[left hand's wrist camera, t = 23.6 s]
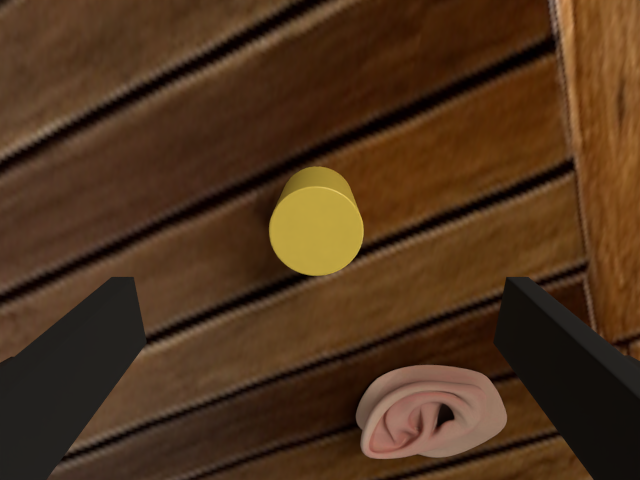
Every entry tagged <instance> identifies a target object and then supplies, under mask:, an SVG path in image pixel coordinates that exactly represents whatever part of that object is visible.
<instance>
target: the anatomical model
mask: <svg viewBox="0 0 640 480" xmlns="http://www.w3.org/2000/svg"><path fill="white" fill-rule="evenodd" d="M356 421H357V424H358V426H359V427H360V428H361V429H362V430H363V431H362V435H361V443H360V444H361V449H362V451H363V453H364V454H365V455H366V456H368V457H371V458H377V459H390V458H400V457H406V456H411V455H415V454H420V455H423V456H428V457H447V456H451V455H455V454H458V453H461V452H464V451H467V450H469V449H471V448H473V447H475V446H477V445H479V444H481V443H483V442H485V441H487V440H488V439H490V438H492V437H493V436H495V435H496V434H498V433H499V432H500V431H501V430H502V429H503V428H504V426H505V424H506V421H507V415H506V411H505V408H504V405H503V403H502V400H501V398H500V395H499V393H498V392H497V390H496V389H495V387H494V386H493V384H492V383H491V381H490V380H489V379H488V378H487V377H486V376H485V375H483V374H481V373H479V372H476V371H472V370H468V369H463V368H456V367H449V366H440V365H418V366H410V367H404V368H400V369H397V370H393V371H391V372H388V373H386V374H384V375H382V376H380V377H379V378H377V379H376V380H375V381H374V382H373V383H372V384H371V385H370V386H369V388H368V389H367V390H366V392H365V394H364V395H363V397H362V399H361V401H360V403H359V406H358V408H357V412H356Z"/></svg>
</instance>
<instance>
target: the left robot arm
mask: <svg viewBox="0 0 640 480" xmlns="http://www.w3.org/2000/svg"><path fill="white" fill-rule="evenodd" d="M146 343H147V342H146V337H145V332H144V327H143V322H142V317H141V312H140V307H139V302H138V297H137V292H136V287H135V282H134V277H111V278H110V279H109V280H108V281H106V282H105V283H104V284H103V285H101V286H100V287H99V288H98V289H97V290H95V291H94V292H93V293H92V294H90V295H89V296H88V297H87V298H86V299H84V300H83V301H82V302H81V303H80V304H78V305H77V306H76V307H75V308H73V309H72V310H71V311H70V312H69V313H67V314H66V315H65V316H64V317H62V318H61V319H60V320H59V321H58V322H56V323H55V324H54V325H53V326H51V327H50V328H49V329H48V330H47V331H45V332H44V333H43V334H42V335H41V336H39V337H38V338H37V339H36V340H34V341H33V342H32V343H31V344H30V345H28V346H27V347H26V348H25V349H23V350H22V351H21V352H20V353H19V354H17V355H16V356H15V357H10V358H8V359H6V360H4V361H3V362H1V363H0V480H46V479H47V478H48V477H49V475H50V474H51V472H52V471H53V470H54V468H55V467H56V466H57V464H58V463H59V462H60V460H61V459H62V457H63V456H64V455H65V453H66V452H67V451H68V449H69V448H70V447H71V445H72V444H73V442H74V441H75V440H76V438H77V437H78V436H79V434H80V433H81V432H82V430H83V429H84V427H85V426H86V425H87V423H88V422H89V421H90V419H91V418H92V417H93V415H94V414H95V412H96V411H97V410H98V408H99V407H100V406H101V404H102V403H103V402H104V400H105V399H106V397H107V396H108V395H109V393H110V392H111V391H112V389H113V388H114V387H115V385H116V384H117V382H118V381H119V380H120V378H121V377H122V376H123V374H124V373H125V372H126V370H127V369H128V367H129V366H130V365H131V363H132V362H133V361H134V359H135V358H136V357H137V355H138V354H139V352H140V351H141V350H142V348H143V347H144V346H145V344H146ZM493 343H494V344H495V346H496V347H497V348H498V350H499V351H500V352H501V354H502V355H503V357H504V358H505V359H506V361H507V362H508V363H509V365H510V366H511V367H512V369H513V370H514V372H515V373H516V374H517V376H518V377H519V378H520V380H521V381H522V382H523V384H524V385H525V387H526V388H527V389H528V391H529V392H530V393H531V395H532V396H533V397H534V399H535V400H536V402H537V403H538V404H539V406H540V407H541V408H542V410H543V411H544V412H545V414H546V415H547V417H548V418H549V419H550V421H551V422H552V423H553V425H554V426H555V427H556V429H557V430H558V432H559V433H560V434H561V436H562V437H563V438H564V440H565V441H566V442H567V444H568V445H569V447H570V448H571V449H572V451H573V452H574V453H575V455H576V456H577V457H578V459H579V460H580V462H581V463H582V464H583V466H584V467H585V468H586V470H587V471H588V472H589V474H590V475H591V477H592V478H593V479H594V480H640V361H638V360H636V359H635V358H633V357H631V356H624V355H623V354H621V353H620V352H619V351H618V350H617V349H615V348H614V347H613V346H612V345H610V344H609V343H608V342H607V341H606V340H604V339H603V338H602V337H601V336H599V335H598V334H597V333H596V332H595V331H593V330H592V329H591V328H590V327H589V326H587V325H586V324H585V323H584V322H582V321H581V320H580V319H579V318H578V317H576V316H575V315H574V314H573V313H571V312H570V311H569V310H568V309H567V308H565V307H564V306H563V305H562V304H560V303H559V302H558V301H557V300H556V299H554V298H553V297H552V296H551V295H550V294H548V293H547V292H546V291H545V290H543V289H542V288H541V287H540V286H539V285H537V284H536V283H535V282H534V281H532V280H531V279H530V278H529V277H506V282H505V287H504V292H503V297H502V302H501V307H500V312H499V317H498V322H497V327H496V332H495V337H494V342H493Z"/></svg>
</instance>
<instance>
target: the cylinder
mask: <svg viewBox="0 0 640 480" xmlns="http://www.w3.org/2000/svg"><path fill="white" fill-rule="evenodd" d="M363 231H364V230H363V222H362V218H361V215H360V213H359V210H358V208H357V205H356V202H355V200H354V197H353V194H352V192H351V189H350V187H349V185H348V183H347V182H346V180H345V179H344V178H343V177H342V176H341V175H340V174H338V173H337V172H335V171H333V170H331V169H329V168H325V167H309V168H305V169H303V170H301V171H299V172H297V173H296V174H294V175H293V176H292V177H291V178H290V179H289V180H288V182H287V183H286V185H285V187H284V189H283V191H282V194H281V196H280V198H279V200H278V202H277V205H276V207H275V209H274V211H273V214H272V216H271V220H270V224H269V237H270V242H271V245H272V248H273V250H274V252H275V253H276V255H277V256H278V258H279V259H280V260H281V261H282V262H283V263H284V264H285V265H286V266H288V267H289V268H291V269H293V270H294V271H297V272H299V273H302V274H306V275H312V276H320V275H327V274H331V273H334V272H336V271H338V270H340V269H342V268H343V267H345V266H346V265H347V264H349V263H350V262H351V261H352V260H353V258H354V257H355V256H356V254H357V253H358V251H359V249H360V247H361V244H362V240H363Z"/></svg>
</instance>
